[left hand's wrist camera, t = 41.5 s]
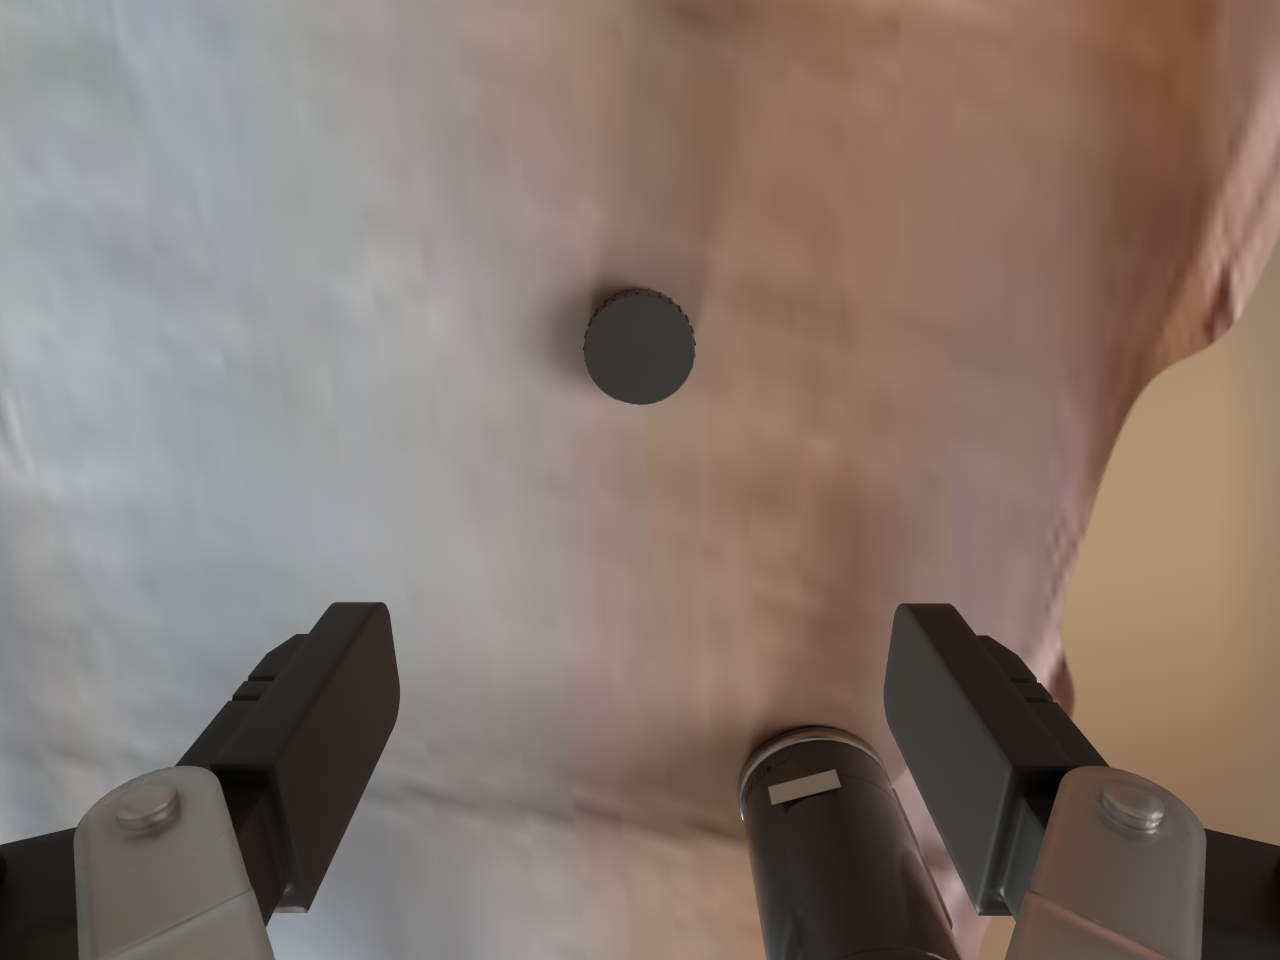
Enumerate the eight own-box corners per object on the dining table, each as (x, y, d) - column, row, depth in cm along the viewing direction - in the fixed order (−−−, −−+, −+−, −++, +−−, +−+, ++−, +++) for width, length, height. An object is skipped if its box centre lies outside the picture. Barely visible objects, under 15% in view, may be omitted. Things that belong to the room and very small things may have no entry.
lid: (715, 341, 37) (720, 350, 34) (640, 415, 38) (641, 428, 36) (638, 263, 35) (638, 268, 33) (563, 344, 37) (559, 353, 34)
